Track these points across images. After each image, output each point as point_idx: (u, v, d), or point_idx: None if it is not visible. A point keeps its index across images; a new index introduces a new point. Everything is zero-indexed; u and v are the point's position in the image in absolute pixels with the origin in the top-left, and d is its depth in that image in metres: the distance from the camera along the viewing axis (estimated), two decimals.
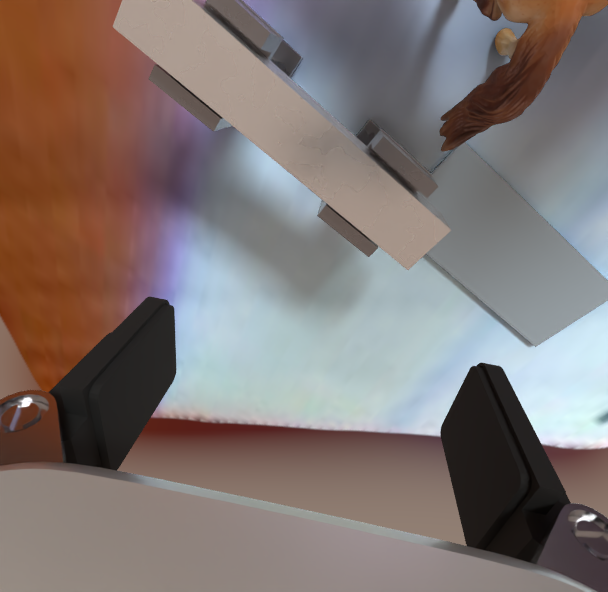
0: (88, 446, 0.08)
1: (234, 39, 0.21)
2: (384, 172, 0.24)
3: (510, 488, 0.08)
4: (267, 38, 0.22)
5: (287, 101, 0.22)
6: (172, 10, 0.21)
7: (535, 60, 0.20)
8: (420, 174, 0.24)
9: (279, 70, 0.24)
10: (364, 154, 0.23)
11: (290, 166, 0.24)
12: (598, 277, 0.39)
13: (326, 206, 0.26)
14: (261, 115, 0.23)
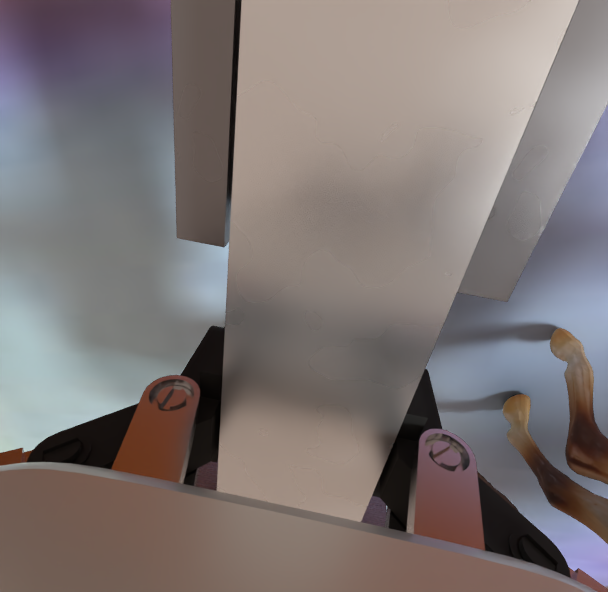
0: (216, 426, 0.09)
1: (470, 248, 0.06)
2: None
3: None
4: None
5: (365, 422, 0.08)
6: None
7: None
8: None
9: None
10: None
11: (231, 463, 0.09)
12: None
13: None
14: (298, 379, 0.08)
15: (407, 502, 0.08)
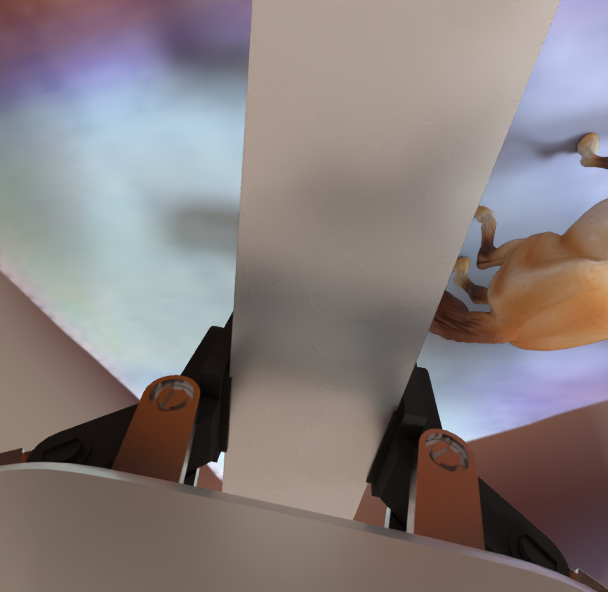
0: (216, 426, 0.09)
1: (462, 234, 0.06)
2: None
3: None
4: None
5: (365, 402, 0.09)
6: None
7: (472, 331, 0.26)
8: None
9: None
10: None
11: (238, 443, 0.10)
12: None
13: None
14: (302, 359, 0.08)
15: (407, 502, 0.08)
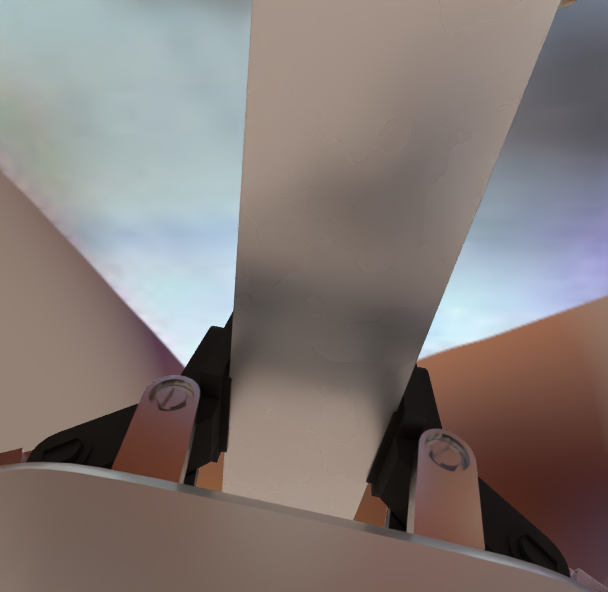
0: (216, 426, 0.09)
1: (462, 235, 0.06)
2: None
3: None
4: None
5: (365, 403, 0.09)
6: None
7: None
8: None
9: None
10: None
11: (238, 444, 0.10)
12: None
13: None
14: (302, 360, 0.08)
15: (407, 502, 0.08)
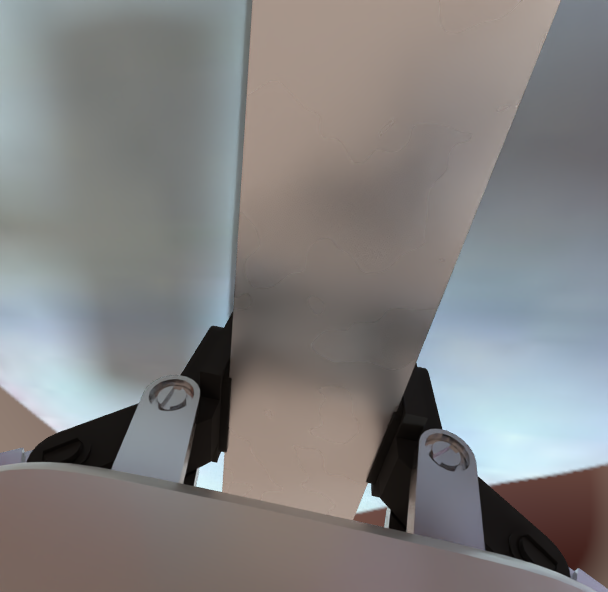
0: (216, 426, 0.09)
1: (462, 236, 0.06)
2: None
3: None
4: None
5: (365, 403, 0.09)
6: None
7: None
8: None
9: None
10: None
11: (238, 444, 0.10)
12: None
13: None
14: (302, 361, 0.08)
15: (407, 502, 0.08)
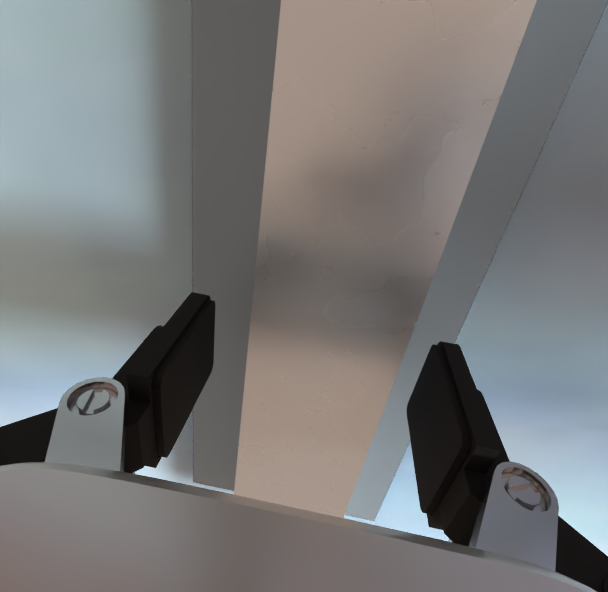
0: (148, 430, 0.09)
1: (454, 211, 0.07)
2: None
3: (454, 450, 0.08)
4: None
5: (369, 366, 0.10)
6: None
7: None
8: None
9: None
10: (349, 495, 0.13)
11: (254, 407, 0.11)
12: (382, 485, 0.18)
13: None
14: (313, 327, 0.09)
15: None
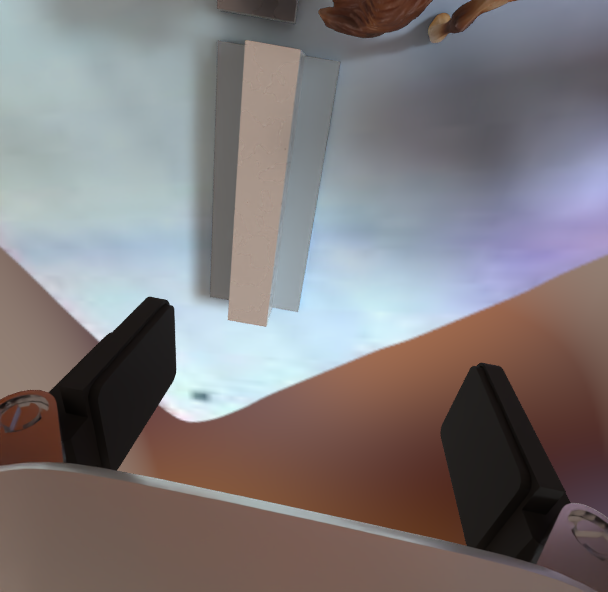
0: (88, 446, 0.08)
1: (288, 142, 0.29)
2: (272, 274, 0.35)
3: (510, 488, 0.08)
4: None
5: (273, 195, 0.31)
6: (281, 88, 0.27)
7: None
8: None
9: (289, 168, 0.33)
10: (274, 257, 0.34)
11: (238, 216, 0.32)
12: (298, 287, 0.40)
13: None
14: (255, 181, 0.31)
15: None
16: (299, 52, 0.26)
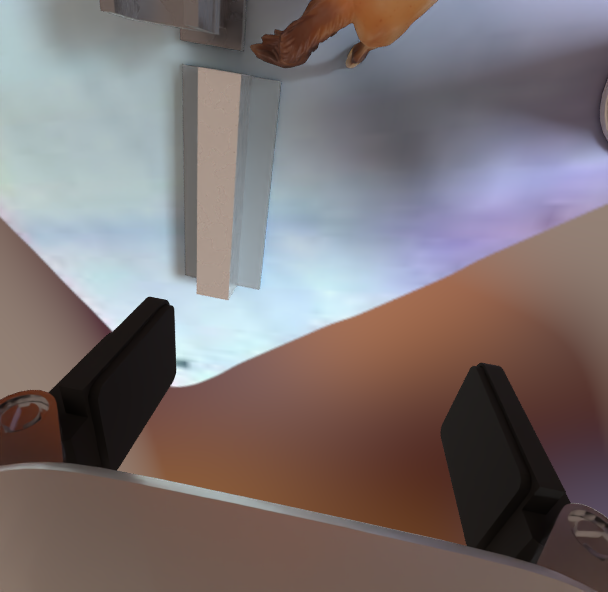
0: (88, 446, 0.08)
1: (236, 147, 0.36)
2: (230, 255, 0.42)
3: (510, 488, 0.08)
4: None
5: (227, 189, 0.39)
6: (227, 104, 0.35)
7: (312, 14, 0.22)
8: None
9: (243, 167, 0.40)
10: (231, 241, 0.41)
11: (200, 207, 0.40)
12: (258, 268, 0.47)
13: None
14: (212, 178, 0.38)
15: None
16: (240, 76, 0.33)
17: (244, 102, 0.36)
